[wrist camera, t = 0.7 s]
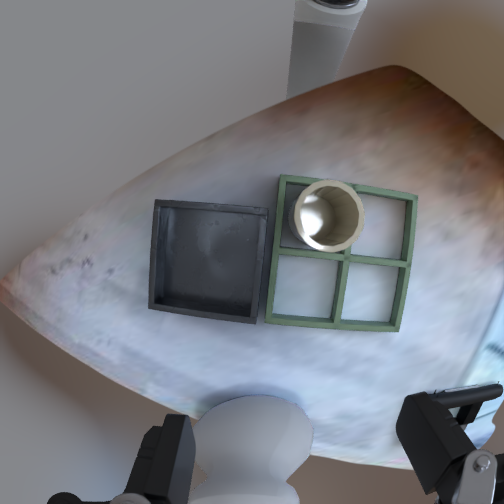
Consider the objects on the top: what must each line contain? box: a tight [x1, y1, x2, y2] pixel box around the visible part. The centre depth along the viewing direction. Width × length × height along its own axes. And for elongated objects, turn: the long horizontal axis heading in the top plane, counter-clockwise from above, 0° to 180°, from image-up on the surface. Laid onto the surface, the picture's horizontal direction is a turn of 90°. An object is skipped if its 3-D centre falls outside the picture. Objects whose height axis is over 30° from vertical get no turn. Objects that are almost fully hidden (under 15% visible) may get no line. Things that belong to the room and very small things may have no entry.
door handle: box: [429, 381, 503, 431], centre depth 37 cm, size 3×20×16 cm
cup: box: [288, 179, 365, 253], centre depth 32 cm, size 7×7×11 cm
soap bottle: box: [188, 395, 314, 504], centre depth 26 cm, size 17×12×29 cm
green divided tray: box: [264, 174, 418, 332], centre depth 36 cm, size 18×18×2 cm
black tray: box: [148, 199, 268, 324], centre depth 37 cm, size 14×14×4 cm
